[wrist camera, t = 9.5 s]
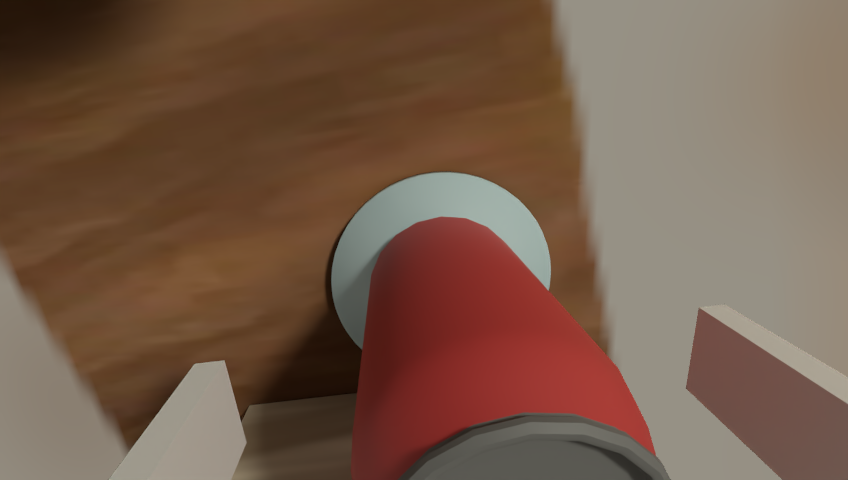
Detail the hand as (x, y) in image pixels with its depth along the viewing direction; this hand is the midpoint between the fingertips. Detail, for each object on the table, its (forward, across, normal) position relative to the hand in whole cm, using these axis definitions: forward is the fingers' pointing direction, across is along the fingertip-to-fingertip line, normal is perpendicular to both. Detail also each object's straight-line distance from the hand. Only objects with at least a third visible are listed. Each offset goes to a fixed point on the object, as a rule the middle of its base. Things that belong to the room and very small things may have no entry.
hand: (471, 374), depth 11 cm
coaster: (+8, 0, -1) cm, 8 cm away
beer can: (+7, 0, 0) cm, 8 cm away
